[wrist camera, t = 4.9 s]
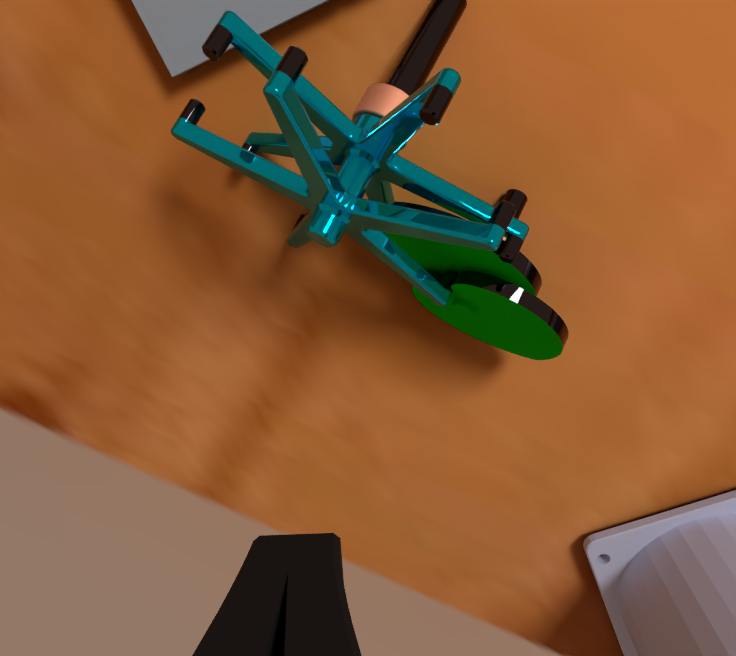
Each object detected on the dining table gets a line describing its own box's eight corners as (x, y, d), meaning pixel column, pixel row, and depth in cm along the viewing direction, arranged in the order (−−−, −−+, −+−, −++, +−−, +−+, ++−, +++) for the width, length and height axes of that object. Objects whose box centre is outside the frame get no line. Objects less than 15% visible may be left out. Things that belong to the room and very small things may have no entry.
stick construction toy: (107, 143, 14) (247, 60, 8) (253, -75, 16) (469, -294, 9) (427, 369, 21) (642, 422, 15) (508, 201, 22) (736, 184, 16)
